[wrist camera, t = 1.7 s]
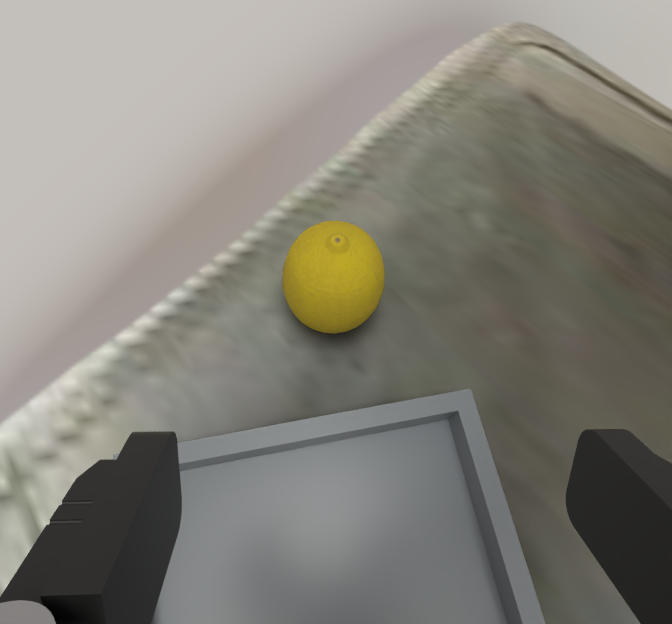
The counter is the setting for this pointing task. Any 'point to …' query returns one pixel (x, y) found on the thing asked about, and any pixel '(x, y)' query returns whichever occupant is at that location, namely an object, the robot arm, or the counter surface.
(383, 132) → the counter surface
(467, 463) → the tray
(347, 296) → the lemon
